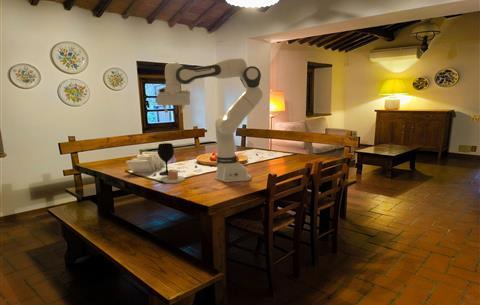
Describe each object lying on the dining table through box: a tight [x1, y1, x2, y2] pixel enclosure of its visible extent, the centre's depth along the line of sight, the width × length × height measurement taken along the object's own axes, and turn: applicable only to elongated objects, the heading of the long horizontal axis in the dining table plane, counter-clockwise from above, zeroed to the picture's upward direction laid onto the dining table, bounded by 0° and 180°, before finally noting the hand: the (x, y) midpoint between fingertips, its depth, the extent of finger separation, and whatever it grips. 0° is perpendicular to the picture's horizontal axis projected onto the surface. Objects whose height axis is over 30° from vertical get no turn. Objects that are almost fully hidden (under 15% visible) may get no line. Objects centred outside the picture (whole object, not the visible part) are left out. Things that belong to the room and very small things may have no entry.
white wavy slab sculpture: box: [125, 151, 165, 174], centre depth 221 cm, size 35×16×11 cm, turn 166°
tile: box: [161, 175, 185, 184], centre depth 192 cm, size 14×14×1 cm
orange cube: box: [167, 169, 179, 180], centre depth 191 cm, size 5×5×5 cm
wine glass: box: [157, 142, 175, 176], centre depth 206 cm, size 10×10×20 cm
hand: (174, 112), depth 192 cm, fingers open, 8 cm apart
